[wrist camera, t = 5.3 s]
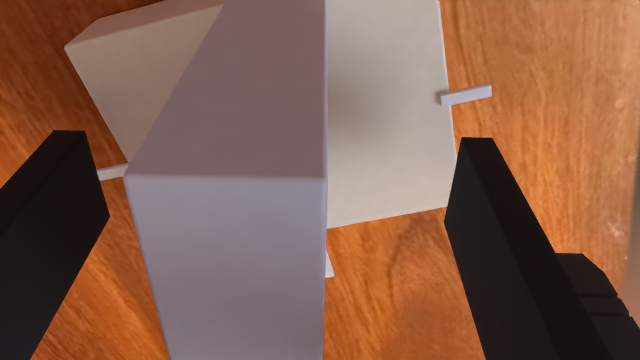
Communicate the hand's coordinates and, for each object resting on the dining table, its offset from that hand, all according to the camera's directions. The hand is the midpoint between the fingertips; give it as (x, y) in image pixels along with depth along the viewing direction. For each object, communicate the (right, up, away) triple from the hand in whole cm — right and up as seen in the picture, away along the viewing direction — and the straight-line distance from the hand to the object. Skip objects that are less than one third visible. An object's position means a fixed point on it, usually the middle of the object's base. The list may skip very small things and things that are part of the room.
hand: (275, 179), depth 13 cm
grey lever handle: (0, +1, +2) cm, 2 cm away
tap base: (0, +3, +4) cm, 5 cm away
